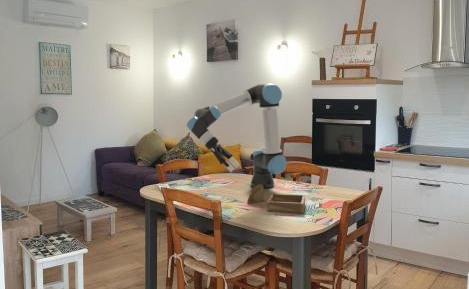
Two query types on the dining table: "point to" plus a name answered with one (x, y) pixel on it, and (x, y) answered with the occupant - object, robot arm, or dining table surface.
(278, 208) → the crate
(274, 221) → the dining table surface
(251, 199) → the rock
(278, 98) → the robot arm
